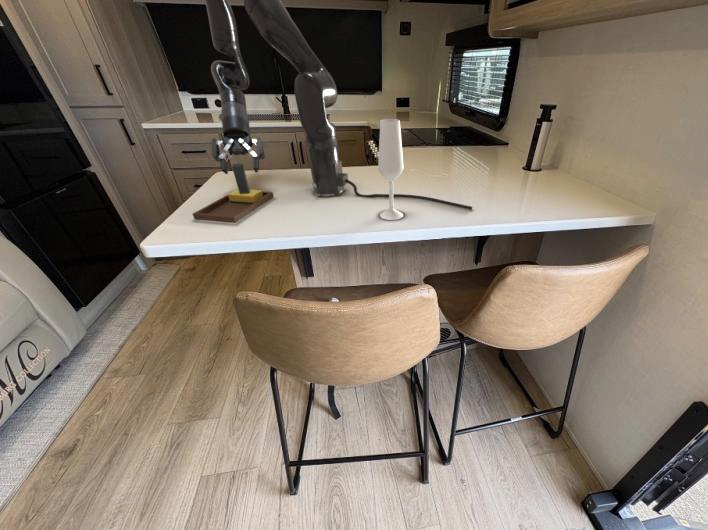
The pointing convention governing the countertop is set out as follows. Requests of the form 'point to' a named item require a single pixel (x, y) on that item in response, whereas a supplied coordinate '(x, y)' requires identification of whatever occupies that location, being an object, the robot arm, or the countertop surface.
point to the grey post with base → (243, 188)
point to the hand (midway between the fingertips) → (240, 171)
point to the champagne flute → (390, 160)
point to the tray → (229, 209)
